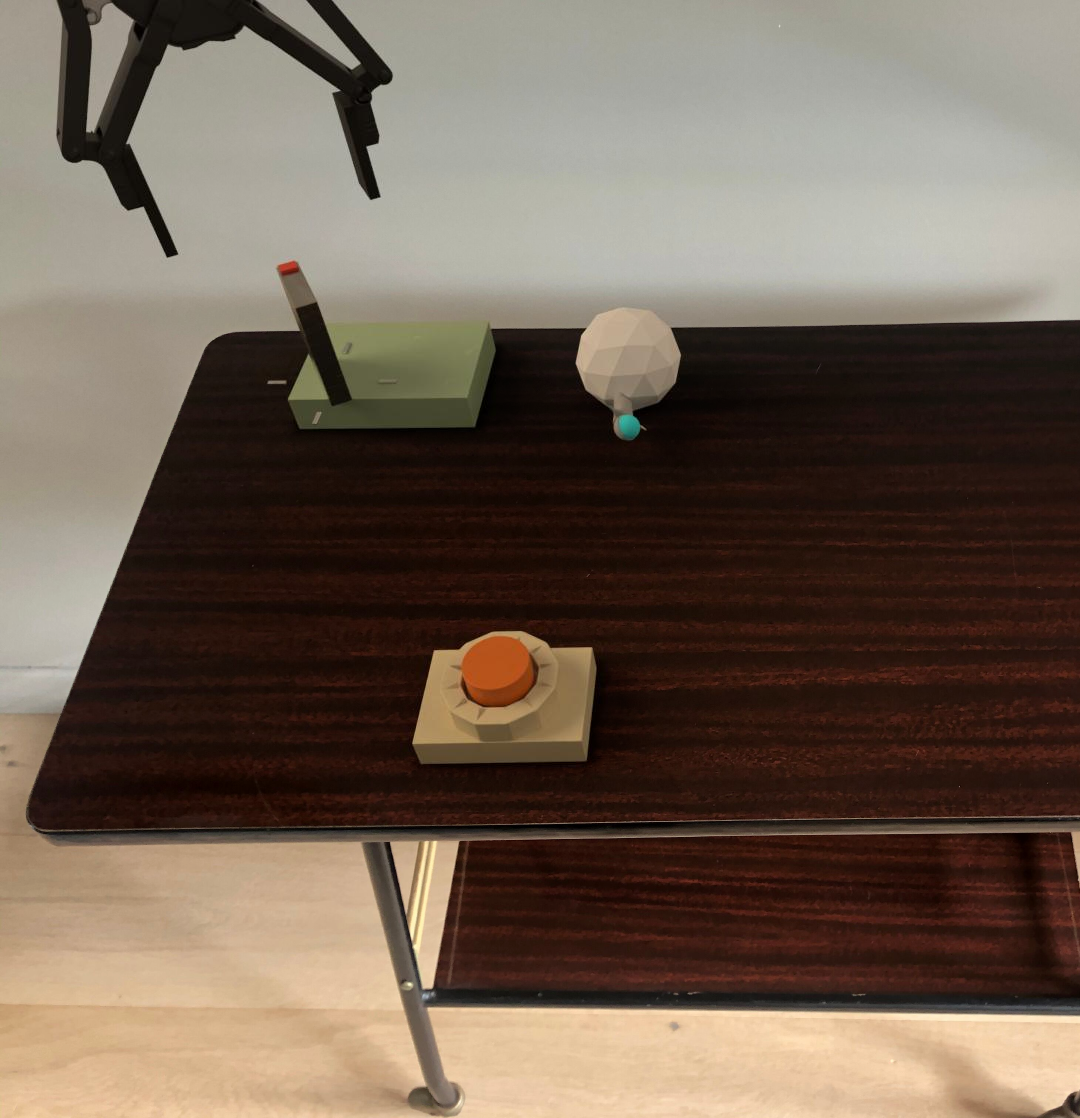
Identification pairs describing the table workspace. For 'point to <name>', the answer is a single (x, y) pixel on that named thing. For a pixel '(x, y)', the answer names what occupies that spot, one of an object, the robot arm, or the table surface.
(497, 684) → the button
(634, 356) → the perfume bottle
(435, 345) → the clamp block
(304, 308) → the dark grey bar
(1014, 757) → the table surface
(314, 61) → the robot arm
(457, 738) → the box
